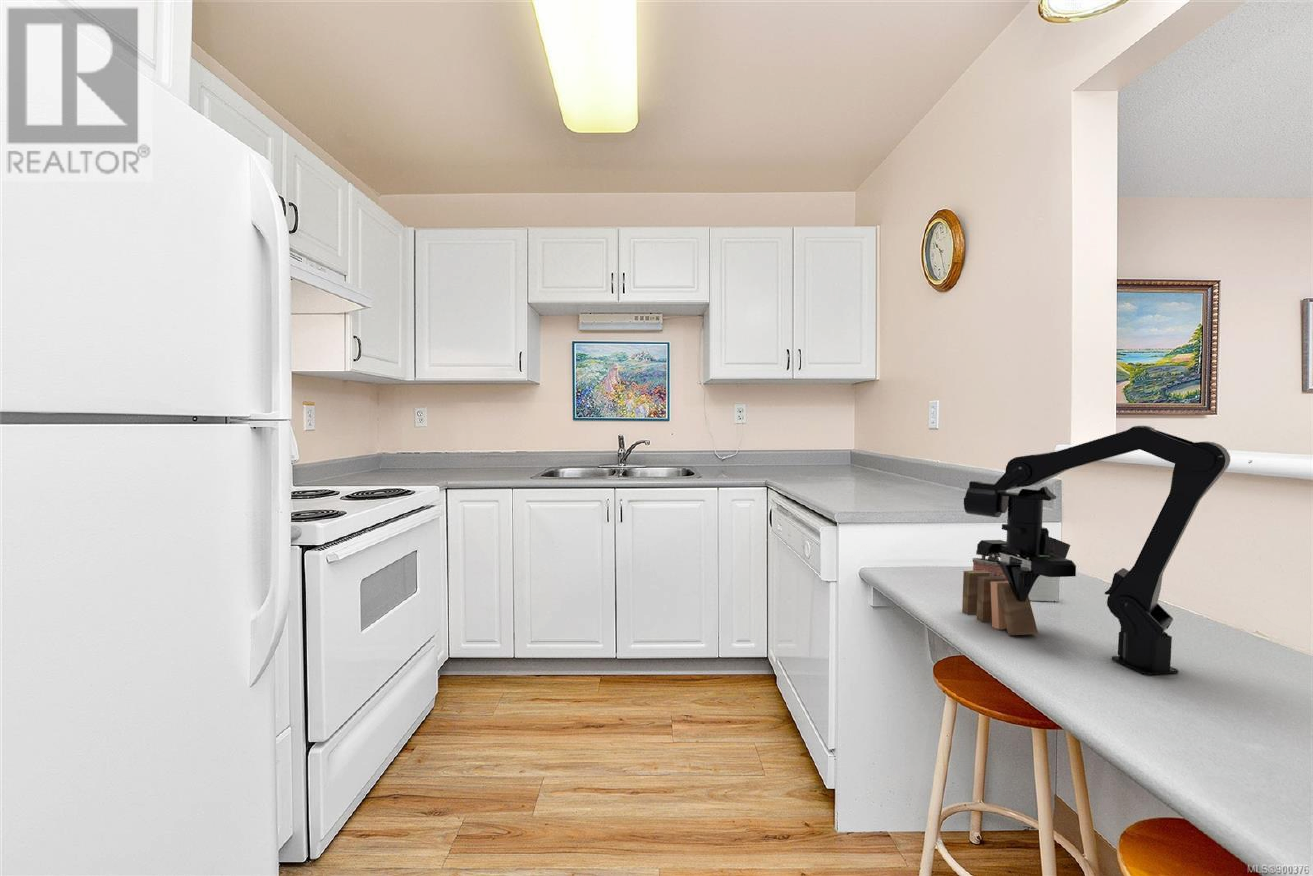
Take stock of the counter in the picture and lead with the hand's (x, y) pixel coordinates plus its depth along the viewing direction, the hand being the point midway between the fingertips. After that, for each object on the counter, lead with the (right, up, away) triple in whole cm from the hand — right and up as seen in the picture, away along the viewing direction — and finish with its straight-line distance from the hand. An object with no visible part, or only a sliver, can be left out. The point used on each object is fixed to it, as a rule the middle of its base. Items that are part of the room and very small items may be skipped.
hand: (1021, 601), depth 115 cm
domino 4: (0, -6, -1) cm, 6 cm away
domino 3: (-1, -6, +4) cm, 7 cm away
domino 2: (-1, -6, +8) cm, 10 cm away
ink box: (+19, -6, +24) cm, 30 cm away
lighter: (+10, -6, +29) cm, 32 cm away
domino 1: (-2, -6, +13) cm, 14 cm away
